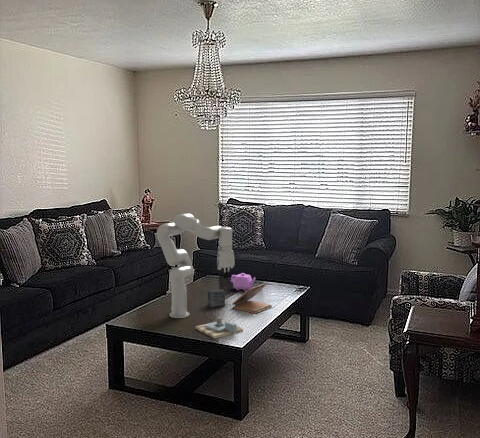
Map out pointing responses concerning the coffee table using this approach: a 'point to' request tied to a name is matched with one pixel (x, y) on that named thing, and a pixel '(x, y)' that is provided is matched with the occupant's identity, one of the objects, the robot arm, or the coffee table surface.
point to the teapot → (242, 281)
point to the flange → (225, 326)
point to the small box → (216, 298)
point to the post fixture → (214, 333)
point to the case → (251, 305)
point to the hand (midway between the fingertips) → (225, 278)
